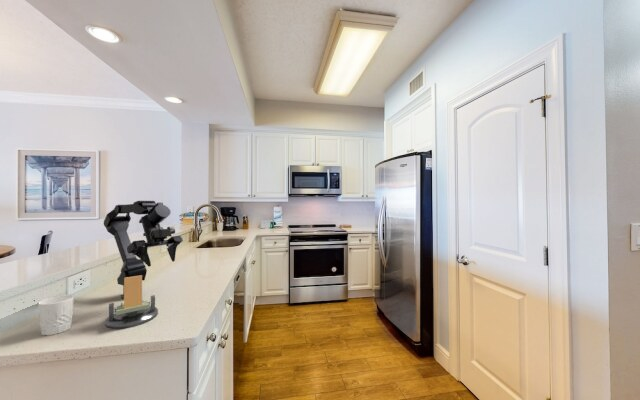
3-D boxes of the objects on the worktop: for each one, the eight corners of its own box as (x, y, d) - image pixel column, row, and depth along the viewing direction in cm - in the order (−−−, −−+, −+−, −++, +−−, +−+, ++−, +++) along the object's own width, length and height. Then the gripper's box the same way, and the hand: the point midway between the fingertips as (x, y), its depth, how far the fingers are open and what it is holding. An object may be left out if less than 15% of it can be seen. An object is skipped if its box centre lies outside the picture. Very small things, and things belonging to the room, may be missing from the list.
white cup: (55, 324, 84) (55, 295, 84) (80, 323, 85) (80, 294, 85) (30, 337, 76) (30, 304, 76) (57, 336, 77) (58, 303, 77)
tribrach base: (106, 316, 90) (106, 298, 90) (156, 306, 99) (156, 289, 99) (103, 334, 78) (103, 313, 78) (159, 320, 87) (160, 301, 87)
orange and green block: (115, 310, 91) (115, 278, 93) (148, 303, 97) (148, 273, 99) (113, 315, 80) (114, 279, 82) (151, 307, 86) (151, 274, 88)
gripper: (135, 220, 91) (146, 260, 87) (184, 218, 108) (195, 251, 104) (122, 233, 96) (132, 272, 92) (170, 229, 112) (180, 261, 108)
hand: (162, 263), depth 99 cm, fingers open, 9 cm apart
